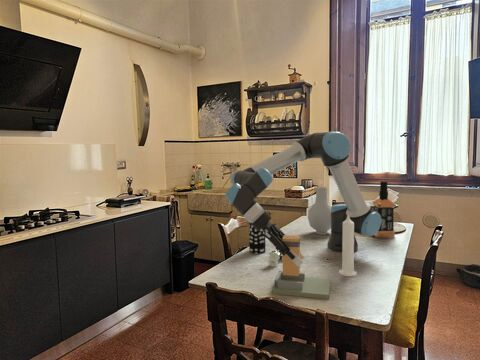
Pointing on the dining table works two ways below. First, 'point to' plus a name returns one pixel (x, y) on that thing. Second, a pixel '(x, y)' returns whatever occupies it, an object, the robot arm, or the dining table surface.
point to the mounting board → (301, 286)
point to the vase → (320, 212)
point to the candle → (348, 249)
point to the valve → (274, 257)
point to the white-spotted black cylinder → (256, 240)
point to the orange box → (288, 264)
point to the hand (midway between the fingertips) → (301, 261)
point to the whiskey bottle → (385, 213)
